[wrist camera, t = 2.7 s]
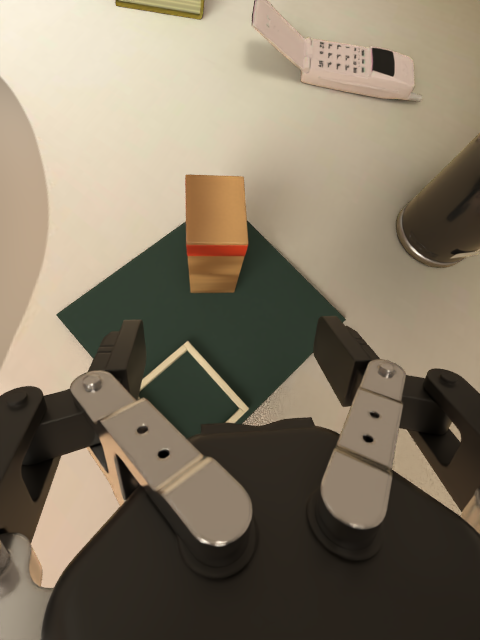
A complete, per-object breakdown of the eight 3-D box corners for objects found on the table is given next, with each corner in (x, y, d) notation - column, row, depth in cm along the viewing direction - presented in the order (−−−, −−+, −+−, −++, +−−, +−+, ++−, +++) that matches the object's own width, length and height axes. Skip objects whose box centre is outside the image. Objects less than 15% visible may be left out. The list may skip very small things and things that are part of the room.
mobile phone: (255, -8, 39) (445, 32, 41) (248, 44, 45) (415, 77, 47) (250, 26, 38) (448, 67, 40) (244, 76, 43) (417, 109, 45)
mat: (221, 197, 38) (222, 190, 36) (344, 320, 35) (349, 317, 34) (58, 315, 32) (52, 312, 30) (191, 473, 29) (191, 476, 28)
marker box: (231, 242, 36) (244, 175, 26) (234, 293, 34) (248, 243, 24) (189, 241, 35) (185, 173, 25) (190, 293, 33) (186, 243, 23)
